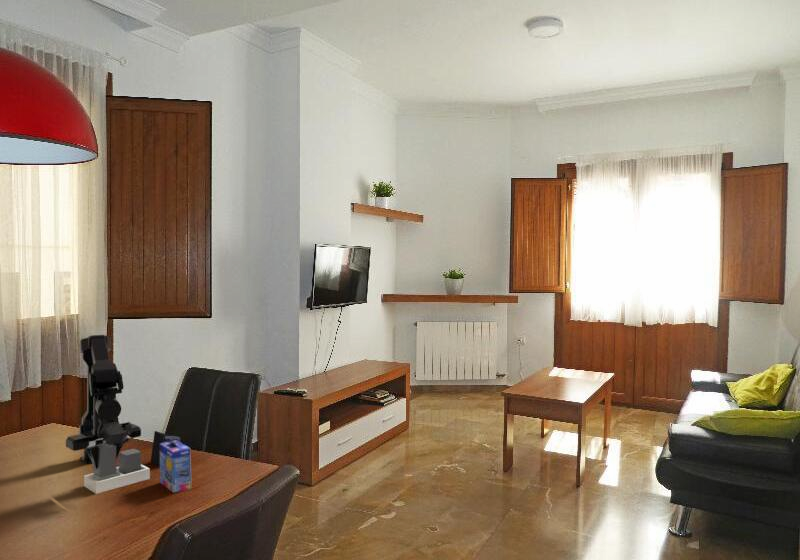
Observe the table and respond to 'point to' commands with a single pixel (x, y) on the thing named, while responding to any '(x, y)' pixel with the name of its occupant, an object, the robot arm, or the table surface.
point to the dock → (115, 480)
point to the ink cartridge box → (175, 465)
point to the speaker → (157, 440)
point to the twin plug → (129, 461)
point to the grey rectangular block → (106, 460)
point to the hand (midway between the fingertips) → (104, 466)
